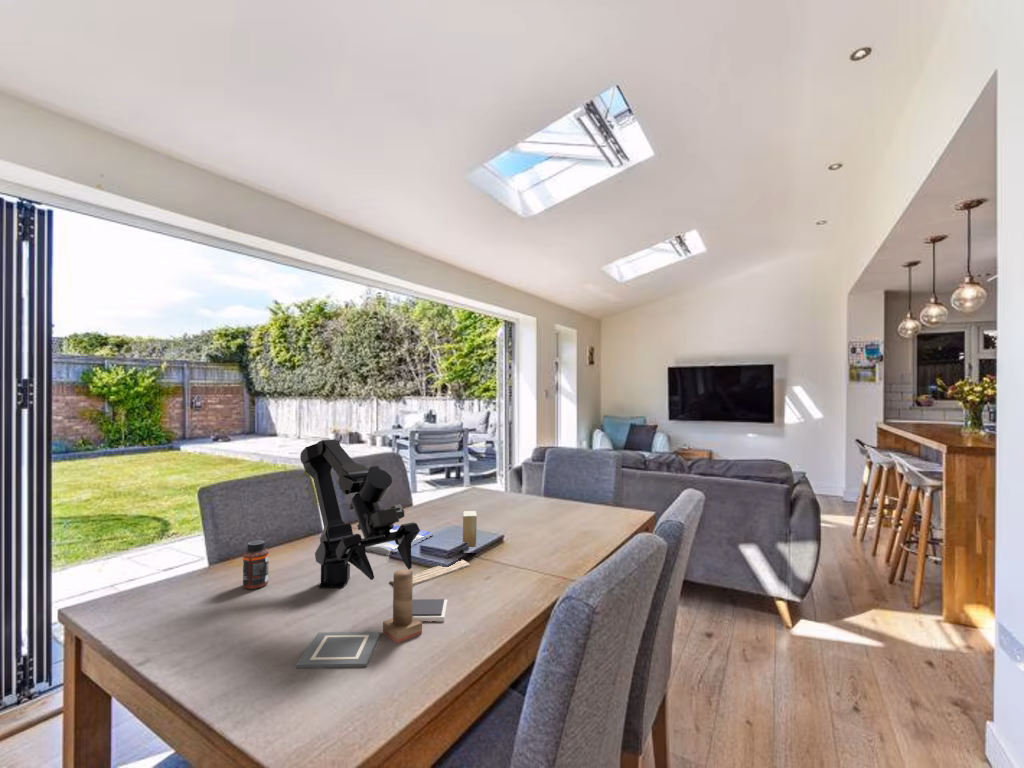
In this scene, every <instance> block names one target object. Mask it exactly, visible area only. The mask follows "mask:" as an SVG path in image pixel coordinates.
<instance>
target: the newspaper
mask: <svg viewBox="0 0 1024 768" xmlns="http://www.w3.org/2000/svg"><path fill="white" fill-rule="evenodd" d="M470 566H471V563H469V562H468V561H467V560H464V559H461V561H458V562H456V563H455V564H453V565H451V566H449V567H442V566H439V565H436V566H433V567H430V568H428V569H425V570H421V571H417V572H415V573H413V584H412V587H414V586H417V585H419V584H422V583H425V582H428V581H430V580H434V579H436V578H440V577H443V576H445V575H448V574H452V573H455V572H457V571H461V570H464V569H466V568H468V567H470ZM388 584H393V580H390V581H389V583H388Z"/></svg>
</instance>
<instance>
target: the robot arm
mask: <svg viewBox="0 0 1024 768" xmlns="http://www.w3.org/2000/svg"><path fill="white" fill-rule="evenodd" d="M299 456H300V457H299V458H300V463H301V464H302V465H303V469H304V472H305V473H307V475H309V476H310V477H311V478H312V480H313V484H314V490H315V493H316V496H317V501H318V506H319V510H320V516H321V520H322V523H323V524H322V525H323V529H322V531H321V535H320V538H319V542H320V543H319V545H318V547H317V549H316V551H315V552H314V557H315V562H316V563H318V564H319V565H320V583H319V584H318V586H317V587H318V588H320V589H321V588H344V587H345V586H346V584H347V583H348V582H349V580H350V578H351V575H350V574H351V565H353V566H354V567H355V568H357V569H358V570H360V571H361V573H362V574H364V576H366V577H367V578H368V579H369V580H371V581H373V580H374V578H375V574H374V571H373V568H372V565H371V563H370V561H369V560H370V559H368V556H367V550H365V547H368V546H372V545H377V544H381V543H386V542H390V541H394V540H395V542H396V544H397V545H399V546H398V547H397V550H398V552H397V553H398V554H399V555H400V557H401V560H402V561H403V563H404V565H405V567H406V569H407V570H412V546H411V544H412V542H413V540H414V539H415V537H416V536H417V534H418V533H419V532H420V530H421V529H420V527H419V525H418V523H416V522H414V521H412V522H409V523H408V522H407V523H403V524H401V525H399V526H400V527H399V529H398V530H397V531H396V532H391V533H390V530H391V529H393V527H394V525H395V524H396V523H400V519H402V518H404V517H405V510H404V507H403V506H402V504H401V503H399V504H394V505H393V506H390V508H386V509H382V508H381V506H380V503H379V502H381V501H382V500H383V499H384V497H385V496H386V494H387V493H388V490H389V489H390V487H391V486H392V484H393V479H392V476H391V474H389V473H388V472H387V471H385V470H384V469H380V467H379V465H373V466H372V465H371V466H370V467H369V468H368V467H367V466H365V465H364V464H359V463H356V462H355V461H354V460H353V459H352V458H351V456H350V455H349V454H348V453H347V452H346V451H345V450H344V448H343V447H342V446H341V443H340V441H339V439H336V438H334V439H333V438H332V439H321V440H320V441H318V442H317V443H314V444H311V445H309V446H305V448H303V450H302V451H301V452H300V455H299ZM332 469H333V470H334V472H335V473H336V474H337V476H338V477H339V478H338V482H337V484H338V486H339V489H340V490H341V491H342V493H343V494H344V495H351V494H352V495H353V494H354V495H353V497H352V499H351V501H350V505H349V509H350V510H353V511H354V514H355V516H356V519H357V521H358V524H357V526H356V527H357V530H358V531H359V530H360V531H361V532H362V535H363V538H362V535H361V534H360V533H354V532H353V527H352V525H351V524H350V522H349V523H346V522H345V521H344V520H343V518H342V514H341V510H340V509H341V508H340V506H339V501H338V497H337V493H336V490H335V485H334V481H333V476H332V473H331V471H332Z"/></svg>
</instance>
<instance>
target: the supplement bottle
mask: <svg viewBox="0 0 1024 768" xmlns="http://www.w3.org/2000/svg"><path fill="white" fill-rule="evenodd" d="M265 544H266V543H265V541H264V540H261V539H260V540H258V539H257V540H251V541H249V542H248V543H247V550H246V551H244V553H243V555H242V558H243V559H242V586H243V588H244V589H246V590H257V589H260V588H263V587H265V586H266V585H268V583H269V558H270V557H269V553H270V552H269V550H268V548H266V547H265V546H266V545H265Z"/></svg>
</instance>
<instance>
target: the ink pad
mask: <svg viewBox="0 0 1024 768" xmlns="http://www.w3.org/2000/svg"><path fill="white" fill-rule="evenodd" d="M447 607H448V599H444V598H441V599H440V598H439V599H436V598H431V599H429V598H428V599H427V598H426V599H425V598H423V599H413V598H412V616H413V617H414V618H416V619H417V620H419V621H421V622H422V623H424V622H423V621H428V622H429V621H430V622H432V621H436V622H445V618H446V613H447Z"/></svg>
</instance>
